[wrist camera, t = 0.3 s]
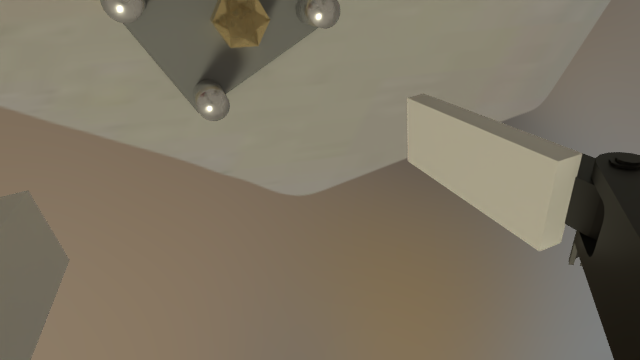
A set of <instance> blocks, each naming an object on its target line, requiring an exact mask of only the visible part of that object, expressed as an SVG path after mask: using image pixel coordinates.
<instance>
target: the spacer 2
mask: <svg viewBox="0 0 640 360" xmlns="http://www.w3.org/2000/svg"><path fill="white" fill-rule="evenodd" d="M194 97H195V101H196V105H197V108H198V111H199V113H200V114H201V116H202V117H204V118H205V119H207V120H210V121H218V120H221V119H223V118H224V117H225V116H226V115H227V114H228V112H229V108H230V104H229V100H228V98H227V96H226V95H225V93H224V91H223V89H222V88H221V86H220V85H219V84H218V83H217V82H216V81H214V80H210V79H206V80H202V81H200V82H199V83H198V84H197V85H196V86H195V88H194Z"/></svg>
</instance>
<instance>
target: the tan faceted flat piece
mask: <svg viewBox="0 0 640 360" xmlns="http://www.w3.org/2000/svg"><path fill="white" fill-rule="evenodd" d="M210 21H211V22H212V24H213V25H214V27H215V28H216V30H217V31H218V32H219V34H220V35H221V37H222V38H223V40H224V41H225V42H226V44H227V45H228V46H229V47H230V48H236V47H253V46H259V44H260V42H261V39H262V37H263V35H264V33H265V30H266V28H267V26H268V24H269V21H270V19H269V17H268V15H267V13H266V12H265V10H264V8H263V7H262V5H261V3H260V2H259V0H218V1H217V3H216V6H215V8H214V11H213V13H212V16H211V18H210Z"/></svg>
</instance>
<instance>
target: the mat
mask: <svg viewBox="0 0 640 360" xmlns="http://www.w3.org/2000/svg"><path fill="white" fill-rule="evenodd" d="M217 1H218V0H145V2H146V7H145V10H144V12H143V14H142V15H141V16H140V17H139V18H138V19H137V20H136V21H134V22H131V23H123V24H124V25H125V26H126V27H127V29H128V30H129V31H130V32H131V33H132V35H133V36H134V37H135V38H136V39H137V41H138V42H139V43H140V44H141V45H142V46H143V48H144V49H145V50H146V51H147V52H148V54H149V55H150V56H151V57H152V58H153V60H154V61H155V62H156V63H157V64H158V65H159V67H160V68H161V69H162V70H163V71H164V73H165V74H166V75H167V76H168V77H169V78H170V80H171V81H172V82H173V83H174V84H175V86H176V87H177V88H178V89H179V90H180V92H181V93H182V94H183V95H184V96H185V97H186V99H187V100H188V101H189V102H190V103H191V105H192V106H193V107H194V108H195V109H196V111H197V112H198V113H199V111H198V108H197V105H196V101H195V97H194V88H195V86H196V85H197V84H198V83H199V82H200V81H202V80H206V79H210V80H214V81H216V82H217V83H218V84H219V85H220V86H221V88H222V89H223V91H224V93H225V94H226V93H228V92H229V91H230V90H232V89H233V88H235V87H236V86H237V85H239V84H240V83H242V82H243V81H244V80H246V79H247V78H249V77H250V76H251V75H253V74H254V73H256V72H257V71H258V70H260V69H261V68H263V67H264V66H265V65H267V64H268V63H270V62H271V61H272V60H274V59H275V58H277V57H278V56H279V55H281V54H282V53H284V52H285V51H286V50H288V49H289V48H291V47H292V46H293V45H295V44H296V43H298V42H299V41H300V40H302V39H303V38H305V37H306V36H307V35H309V34H310V33H312V32H313V31H314V30H316V29H317V28H318V27H316V26H312V25H308V24H304V23H302V22H301V21H300V20H299V19H298V17H297V15H296V11H295V7H296V3H297V1H298V0H259V2H260V3H261V5H262V7H263V8H264V10H265V12H266V13H267V15H268V17H269V19H270V21H269V24H268V26H267V28H266V30H265V33H264V35H263V37H262V39H261V42H260V44H259V46H253V47H236V48H230V47H229V46H228V45H227V44H226V42H225V41H224V40H223V38H222V37H221V35H220V34H219V32H218V31H217V30H216V28H215V27H214V25H213V24H212V22H211V21H210V18H211V16H212V13H213V11H214V8H215V6H216V3H217Z"/></svg>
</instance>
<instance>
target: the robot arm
mask: <svg viewBox="0 0 640 360" xmlns="http://www.w3.org/2000/svg"><path fill="white" fill-rule="evenodd" d="M407 135H408V161H409V162H410V163H412V164H413V165H414V166H416V167H417V168H419V169H420V170H422V171H423V172H425V173H426V174H428V175H429V176H430V177H432V178H433V179H435V180H436V181H438V182H439V183H441V184H442V185H444V186H445V187H446V188H448V189H449V190H451V191H452V192H454V193H455V194H457V195H458V196H460V197H461V198H462V199H464V200H465V201H467V202H468V203H470V204H471V205H473V206H474V207H476V208H477V209H479V210H480V211H481V212H483V213H484V214H486V215H487V216H489V217H490V218H492V219H493V220H494V221H496V222H497V223H499V224H500V225H502V226H503V227H505V228H506V229H508V230H509V231H511V232H512V233H513V234H515V235H516V236H518V237H519V238H521V239H522V240H524V241H525V242H526V243H528V244H529V245H531V246H532V247H534V248H535V249H537V250H538V251H541V250H544V249H546V248H549V247H551V246H554V245H556V244H558V243H561V240H562V236H563V232H564V228H565V224H567V225H568V226H570V227H572V228H574V229H575V230H577V231H576V235H575V238H574V242H573V246H572V250H571V254H570V257H569V264H570V265H574V261H575V259H576V258H577V257H580V260H581V264H580V266H582V267H583V269H584V272H585V275H586V278H587V281H588V284H589V287H590V290H591V293H592V296H593V299H594V302H595V305H596V308H597V311H598V314H599V317H600V319H601V322H602V325H603V328H604V331H605V334H606V337H607V340H608V343H609V346H610V349H611V352H612V355H613V358H614V360H640V155H636V154H631V153H622V152H616V153H615V152H614V153H605V154H602V155H599V156H598V157H596V158H593V157H591V156H588V155H585V154H583V153H580V152H577V151H575V150H572V149H569V148H567V147H564V146H561V145H559V144H556V143H554V142H551V141H548V140H546V139H543V138H540V137H538V136H535V135H532V134H530V133H527V132H524V131H522V130H519V129H516V128H514V127H511V126H508V125H506V124H503V123H500V122H498V121H495V120H493V119H490V118H487V117H485V116H482V115H479V114H477V113H474V112H471V111H469V110H466V109H463V108H461V107H458V106H455V105H453V104H450V103H447V102H445V101H442V100H440V99H437V98H434V97H432V96H429V95H426V94H421V95H417V96H412V97H408V98H407ZM68 262H69V258H68V257H67V255H66V253H65V252H64V250H63V248H62V246H61V245H60V243H59V241H58V240H57V238H56V237H55V235H54V233H53V231H52V230H51V228H50V226H49V225H48V223H47V221H46V219H45V218H44V216H43V214H42V213H41V211H40V209H39V208H38V206H37V204H36V203H35V201H34V199H33V198H32V196H31V194H30V193H29V191H24V192H20V193H16V194H12V195H8V196H4V197H0V360H31V358H32V355H33V352H34V350H35V347H36V345H37V342H38V340H39V337H40V334H41V332H42V329H43V327H44V324H45V322H46V319H47V316H48V314H49V311H50V309H51V306H52V304H53V301H54V298H55V296H56V293H57V291H58V288H59V286H60V283H61V280H62V278H63V275H64V273H65V270H66V267H67V265H68Z"/></svg>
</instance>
